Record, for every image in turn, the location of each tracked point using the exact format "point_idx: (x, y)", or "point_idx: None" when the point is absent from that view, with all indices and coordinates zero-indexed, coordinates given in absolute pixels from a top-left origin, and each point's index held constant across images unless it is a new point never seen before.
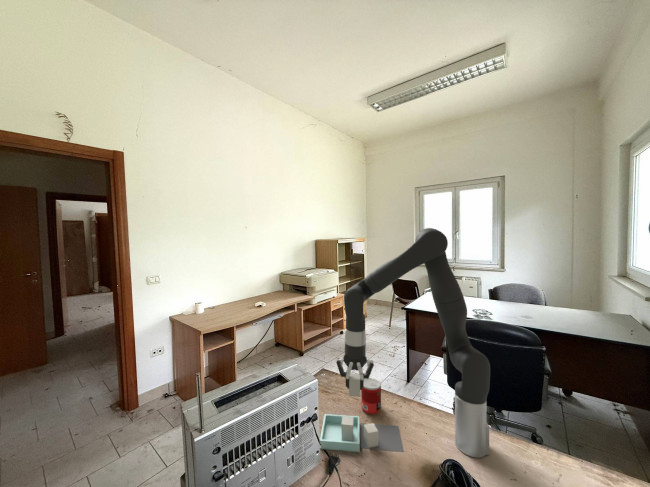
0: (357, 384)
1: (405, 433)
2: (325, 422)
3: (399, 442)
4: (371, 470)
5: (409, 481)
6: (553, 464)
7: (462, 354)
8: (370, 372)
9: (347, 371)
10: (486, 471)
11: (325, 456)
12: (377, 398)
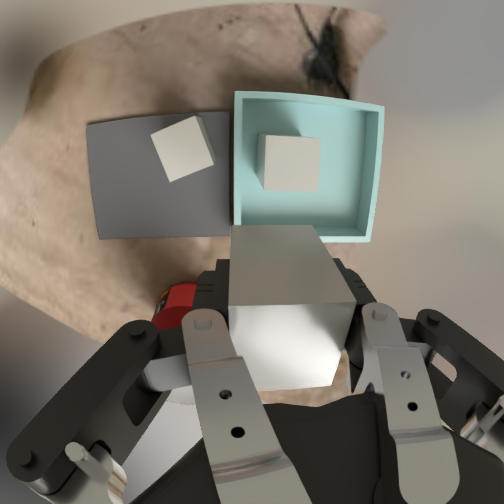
0: (256, 272)
1: (80, 211)
2: (362, 213)
3: (95, 162)
4: (196, 38)
5: (93, 35)
6: None
7: None
8: (79, 376)
9: (420, 354)
10: None
11: (349, 81)
12: (156, 323)
